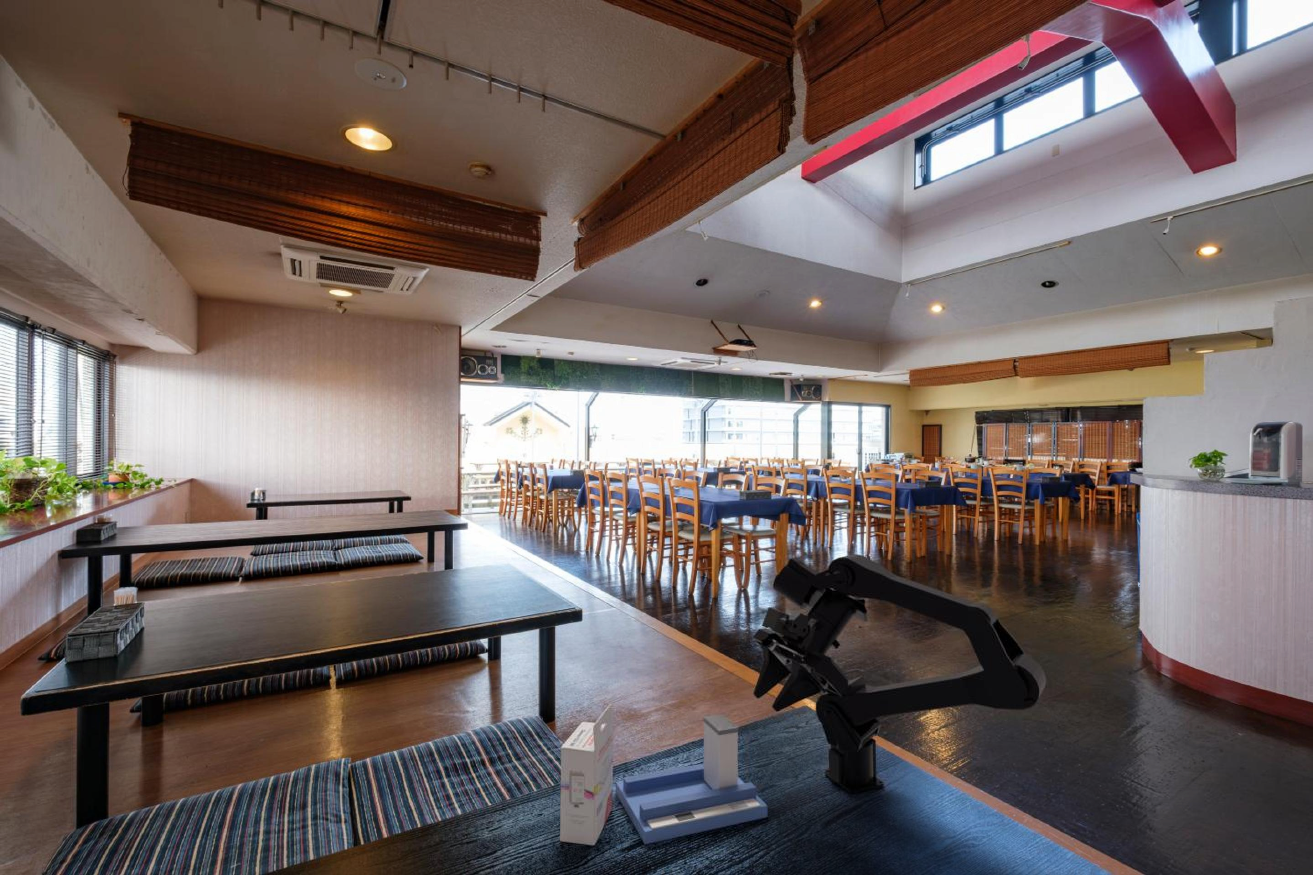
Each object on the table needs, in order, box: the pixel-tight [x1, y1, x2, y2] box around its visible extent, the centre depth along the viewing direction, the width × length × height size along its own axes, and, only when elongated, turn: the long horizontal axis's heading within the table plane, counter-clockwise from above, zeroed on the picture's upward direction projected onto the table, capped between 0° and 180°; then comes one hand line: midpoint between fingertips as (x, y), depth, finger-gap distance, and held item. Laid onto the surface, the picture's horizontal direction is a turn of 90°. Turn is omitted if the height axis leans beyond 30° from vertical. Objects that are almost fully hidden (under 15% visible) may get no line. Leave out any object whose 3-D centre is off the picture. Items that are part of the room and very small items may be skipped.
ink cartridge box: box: [559, 703, 614, 846], centre depth 77 cm, size 9×5×15 cm, turn 168°
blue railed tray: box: [615, 762, 768, 845], centre depth 82 cm, size 18×13×3 cm
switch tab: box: [702, 714, 740, 790], centre depth 84 cm, size 3×5×9 cm, turn 21°
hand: (764, 702), depth 87 cm, fingers open, 5 cm apart
